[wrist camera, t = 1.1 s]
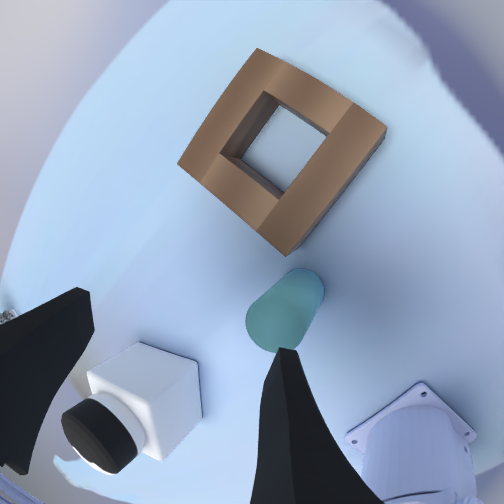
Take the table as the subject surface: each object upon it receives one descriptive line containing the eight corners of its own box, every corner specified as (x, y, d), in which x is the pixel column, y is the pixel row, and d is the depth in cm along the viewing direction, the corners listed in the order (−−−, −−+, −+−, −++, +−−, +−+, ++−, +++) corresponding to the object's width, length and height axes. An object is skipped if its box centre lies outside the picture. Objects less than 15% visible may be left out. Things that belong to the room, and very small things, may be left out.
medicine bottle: (137, 340, 27) (40, 395, 16) (198, 360, 24) (99, 441, 13) (147, 396, 28) (69, 455, 17) (203, 419, 25) (127, 498, 14)
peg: (333, 289, 19) (317, 326, 13) (304, 320, 20) (278, 363, 14) (299, 258, 19) (269, 283, 14) (271, 291, 20) (234, 324, 15)
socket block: (384, 138, 16) (387, 126, 13) (298, 248, 19) (285, 256, 16) (272, 66, 17) (256, 47, 15) (201, 167, 21) (176, 163, 18)
